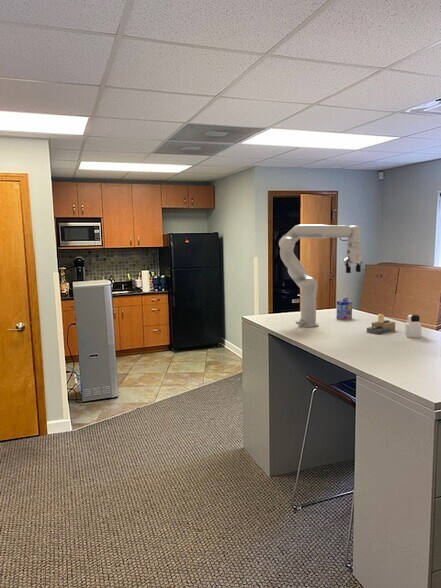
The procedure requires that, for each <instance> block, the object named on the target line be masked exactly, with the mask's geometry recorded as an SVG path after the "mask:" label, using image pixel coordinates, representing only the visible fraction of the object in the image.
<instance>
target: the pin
mask: <svg viewBox="0 0 441 588" xmlns="http://www.w3.org/2000/svg"><path fill="white" fill-rule="evenodd" d="M384 320H385V314H383V313H378V317H377V321H378V323H379V324H384Z"/></svg>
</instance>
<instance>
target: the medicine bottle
mask: <svg viewBox="0 0 441 588" xmlns="http://www.w3.org/2000/svg"><path fill="white" fill-rule="evenodd" d="M404 331H405V336H406V337H407V338H419V339H421V338H422V324H421V323H420V316H419V314H409V315H407V321H406V322H405V329H404Z"/></svg>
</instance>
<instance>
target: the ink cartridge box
mask: <svg viewBox="0 0 441 588" xmlns="http://www.w3.org/2000/svg"><path fill="white" fill-rule="evenodd" d="M335 316H336V319H338V320H342V321H343V320H348V319H352V318H353V301H352V300H349V297H344V298H343V299H342V300H338V301H336V315H335Z"/></svg>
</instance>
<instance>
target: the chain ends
mask: <svg viewBox="0 0 441 588" xmlns="http://www.w3.org/2000/svg"><path fill="white" fill-rule="evenodd" d="M394 331H396V322H395V321H390V320H388V319H384V324H379V323H378V320H377V321H373V322H371V326H370V327H366V333H370V334H376V335H381V334H385V333H389V332H394Z"/></svg>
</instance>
